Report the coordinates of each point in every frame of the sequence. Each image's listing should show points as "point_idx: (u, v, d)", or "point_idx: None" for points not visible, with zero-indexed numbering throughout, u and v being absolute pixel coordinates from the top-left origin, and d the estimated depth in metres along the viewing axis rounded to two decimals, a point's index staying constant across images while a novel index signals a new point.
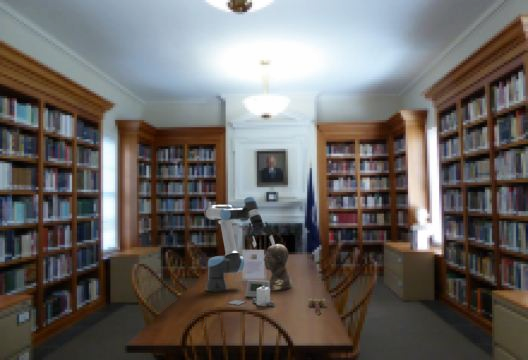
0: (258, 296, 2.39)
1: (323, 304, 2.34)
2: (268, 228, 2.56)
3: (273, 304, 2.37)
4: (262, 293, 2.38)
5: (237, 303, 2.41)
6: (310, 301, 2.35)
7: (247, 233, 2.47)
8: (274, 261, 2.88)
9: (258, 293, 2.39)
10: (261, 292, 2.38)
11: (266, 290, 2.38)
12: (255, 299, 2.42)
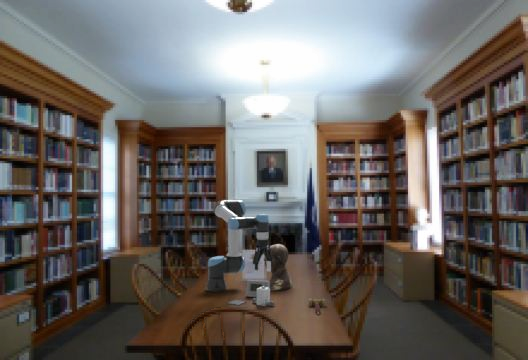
0: (258, 296, 2.39)
1: (323, 304, 2.34)
2: (269, 252, 2.47)
3: (273, 304, 2.37)
4: (262, 293, 2.38)
5: (237, 303, 2.41)
6: (310, 301, 2.35)
7: (254, 260, 2.34)
8: (274, 261, 2.88)
9: (258, 293, 2.39)
10: (261, 292, 2.38)
11: (266, 290, 2.38)
12: (255, 299, 2.42)
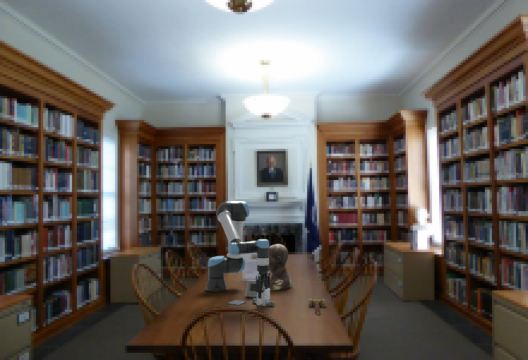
0: None
1: (323, 304, 2.33)
2: (268, 279, 2.45)
3: (273, 304, 2.37)
4: None
5: (237, 303, 2.41)
6: (310, 301, 2.35)
7: (257, 289, 2.35)
8: (274, 261, 2.88)
9: None
10: None
11: (266, 290, 2.38)
12: (255, 299, 2.42)
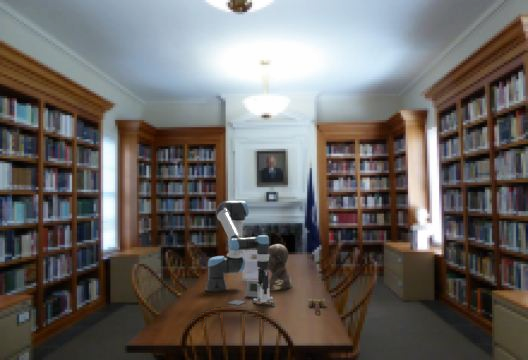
0: (262, 293, 2.38)
1: (323, 304, 2.33)
2: None
3: (273, 304, 2.37)
4: None
5: (237, 303, 2.41)
6: (310, 301, 2.34)
7: (266, 285, 2.35)
8: (274, 261, 2.88)
9: (262, 290, 2.38)
10: None
11: None
12: None
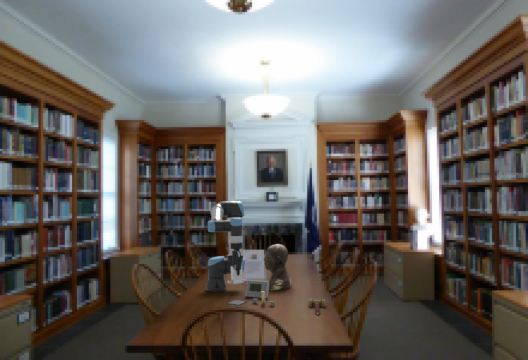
0: (235, 274, 2.41)
1: (323, 304, 2.33)
2: None
3: (273, 304, 2.37)
4: None
5: (237, 303, 2.41)
6: (310, 301, 2.34)
7: (239, 266, 2.38)
8: (274, 261, 2.88)
9: (235, 271, 2.41)
10: None
11: None
12: (255, 299, 2.42)
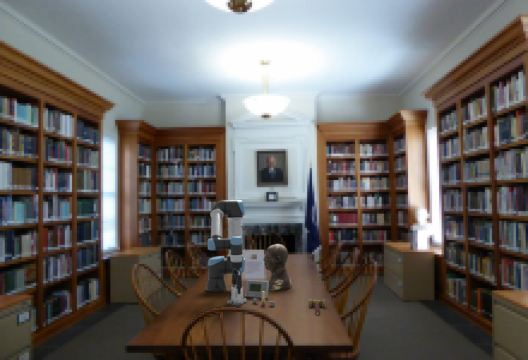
0: (235, 295, 2.41)
1: (323, 305, 2.32)
2: None
3: (273, 304, 2.37)
4: None
5: None
6: (310, 301, 2.34)
7: (239, 284, 2.37)
8: (274, 261, 2.88)
9: (235, 292, 2.41)
10: None
11: None
12: (255, 299, 2.42)
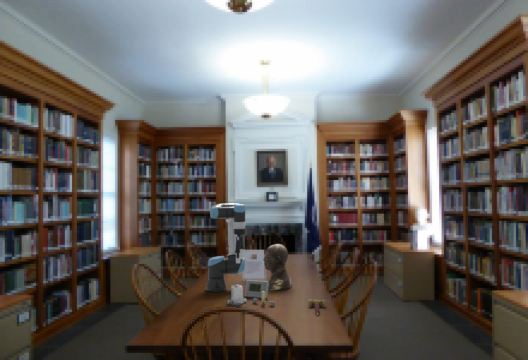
0: (235, 295, 2.41)
1: (323, 305, 2.32)
2: None
3: (273, 304, 2.37)
4: (240, 291, 2.42)
5: None
6: (310, 302, 2.33)
7: (237, 248, 2.42)
8: (274, 261, 2.88)
9: (235, 292, 2.41)
10: (239, 290, 2.42)
11: None
12: (255, 299, 2.42)
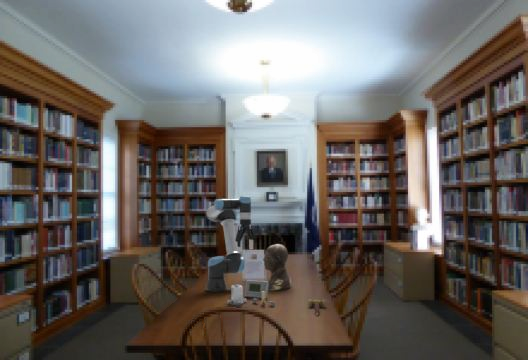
0: (235, 295, 2.41)
1: (323, 305, 2.32)
2: (251, 231, 2.67)
3: (273, 304, 2.37)
4: (240, 291, 2.42)
5: None
6: (310, 302, 2.33)
7: (237, 237, 2.53)
8: (274, 261, 2.88)
9: (235, 292, 2.41)
10: (239, 290, 2.42)
11: None
12: (255, 299, 2.42)
